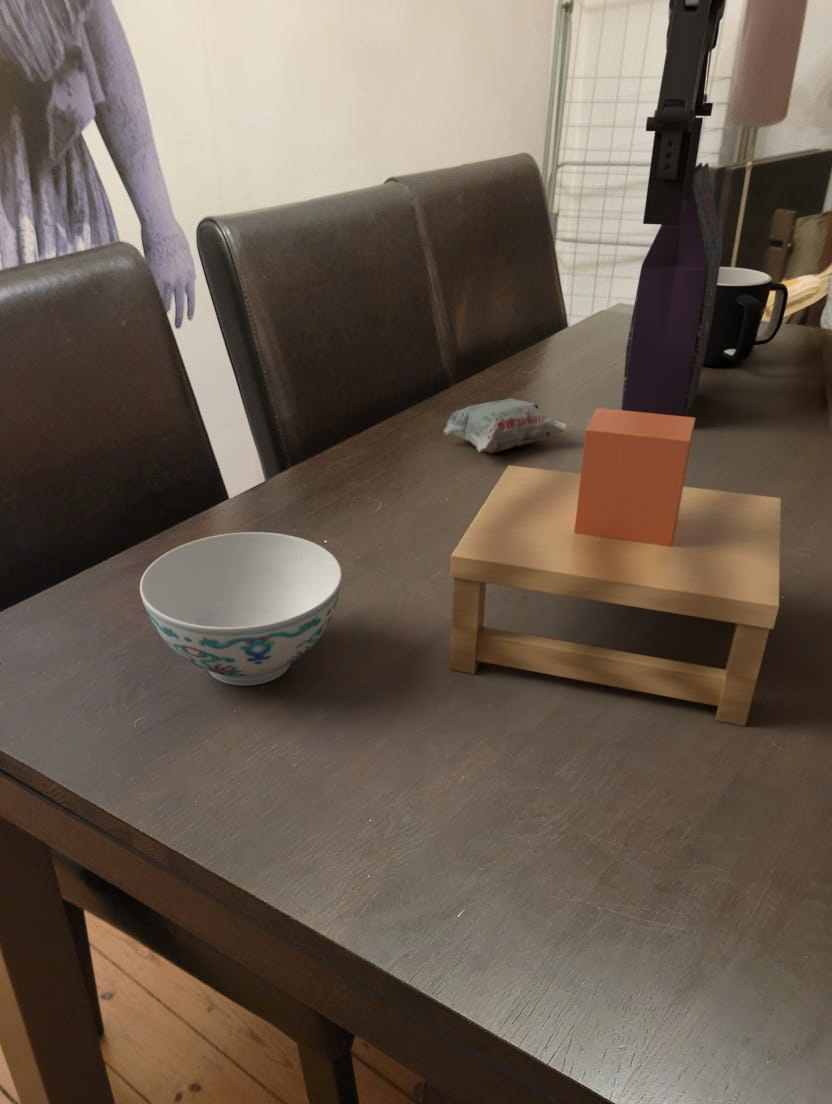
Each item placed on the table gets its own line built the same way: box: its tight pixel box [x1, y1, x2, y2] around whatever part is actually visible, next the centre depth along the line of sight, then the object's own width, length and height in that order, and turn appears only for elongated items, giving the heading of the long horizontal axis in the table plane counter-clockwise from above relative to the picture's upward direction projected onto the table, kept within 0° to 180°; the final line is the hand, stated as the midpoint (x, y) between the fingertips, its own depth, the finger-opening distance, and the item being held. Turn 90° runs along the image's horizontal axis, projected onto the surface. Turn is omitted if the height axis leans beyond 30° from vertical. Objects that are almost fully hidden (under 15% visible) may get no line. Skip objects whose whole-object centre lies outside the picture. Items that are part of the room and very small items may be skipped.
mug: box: [703, 266, 789, 367], centre depth 139 cm, size 16×16×12 cm
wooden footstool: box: [449, 465, 782, 727], centre depth 75 cm, size 22×18×10 cm
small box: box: [574, 407, 697, 546], centre depth 70 cm, size 7×5×8 cm
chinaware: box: [139, 531, 343, 686], centre depth 73 cm, size 15×15×8 cm
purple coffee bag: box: [621, 162, 723, 417], centre depth 117 cm, size 8×16×28 cm, turn 156°
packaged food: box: [443, 398, 567, 454], centre depth 113 cm, size 9×12×5 cm
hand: (668, 211), depth 81 cm, fingers open, 13 cm apart
